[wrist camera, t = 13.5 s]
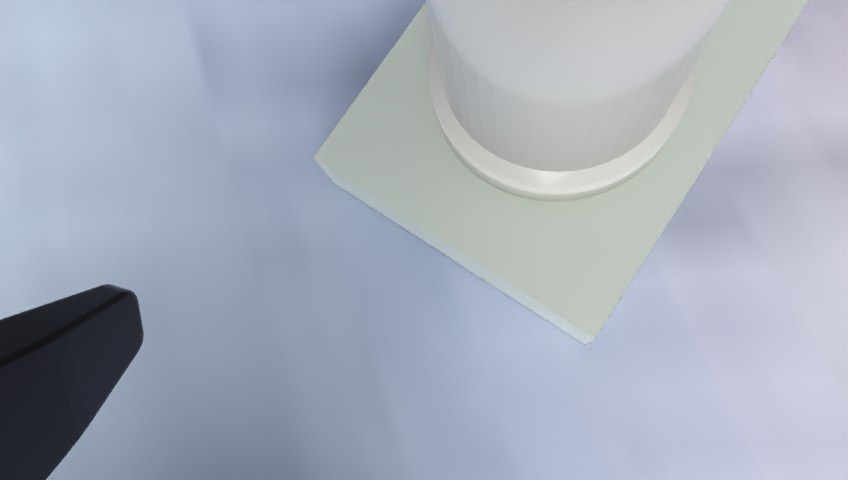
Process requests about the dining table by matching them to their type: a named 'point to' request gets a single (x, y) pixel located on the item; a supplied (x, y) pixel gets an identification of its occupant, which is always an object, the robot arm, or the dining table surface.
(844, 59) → the dining table surface
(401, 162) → the sage block
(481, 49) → the cream jar
